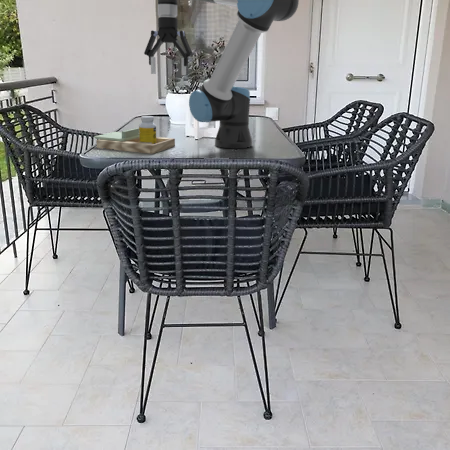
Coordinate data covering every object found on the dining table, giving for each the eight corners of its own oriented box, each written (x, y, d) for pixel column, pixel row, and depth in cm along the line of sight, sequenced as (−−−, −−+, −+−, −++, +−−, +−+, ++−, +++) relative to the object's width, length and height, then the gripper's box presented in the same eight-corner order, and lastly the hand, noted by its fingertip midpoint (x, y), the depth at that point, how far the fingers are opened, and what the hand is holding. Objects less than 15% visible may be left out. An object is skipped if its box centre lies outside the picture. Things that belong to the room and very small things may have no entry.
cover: (141, 136, 191) (141, 127, 190) (122, 141, 178) (122, 132, 177) (114, 133, 195) (114, 125, 194) (94, 138, 183) (93, 129, 181)
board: (174, 146, 189) (174, 138, 188) (152, 153, 173) (152, 145, 172) (122, 141, 197) (122, 133, 196) (96, 147, 181) (96, 139, 180)
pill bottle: (153, 149, 180) (152, 118, 176) (137, 148, 181) (136, 117, 177) (158, 146, 186) (158, 116, 182) (143, 145, 187) (142, 115, 183)
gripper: (201, 18, 185) (200, 75, 192) (144, 18, 192) (145, 73, 199) (193, 16, 178) (193, 75, 185) (134, 16, 186) (136, 73, 193)
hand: (168, 74), depth 192 cm, fingers open, 13 cm apart
